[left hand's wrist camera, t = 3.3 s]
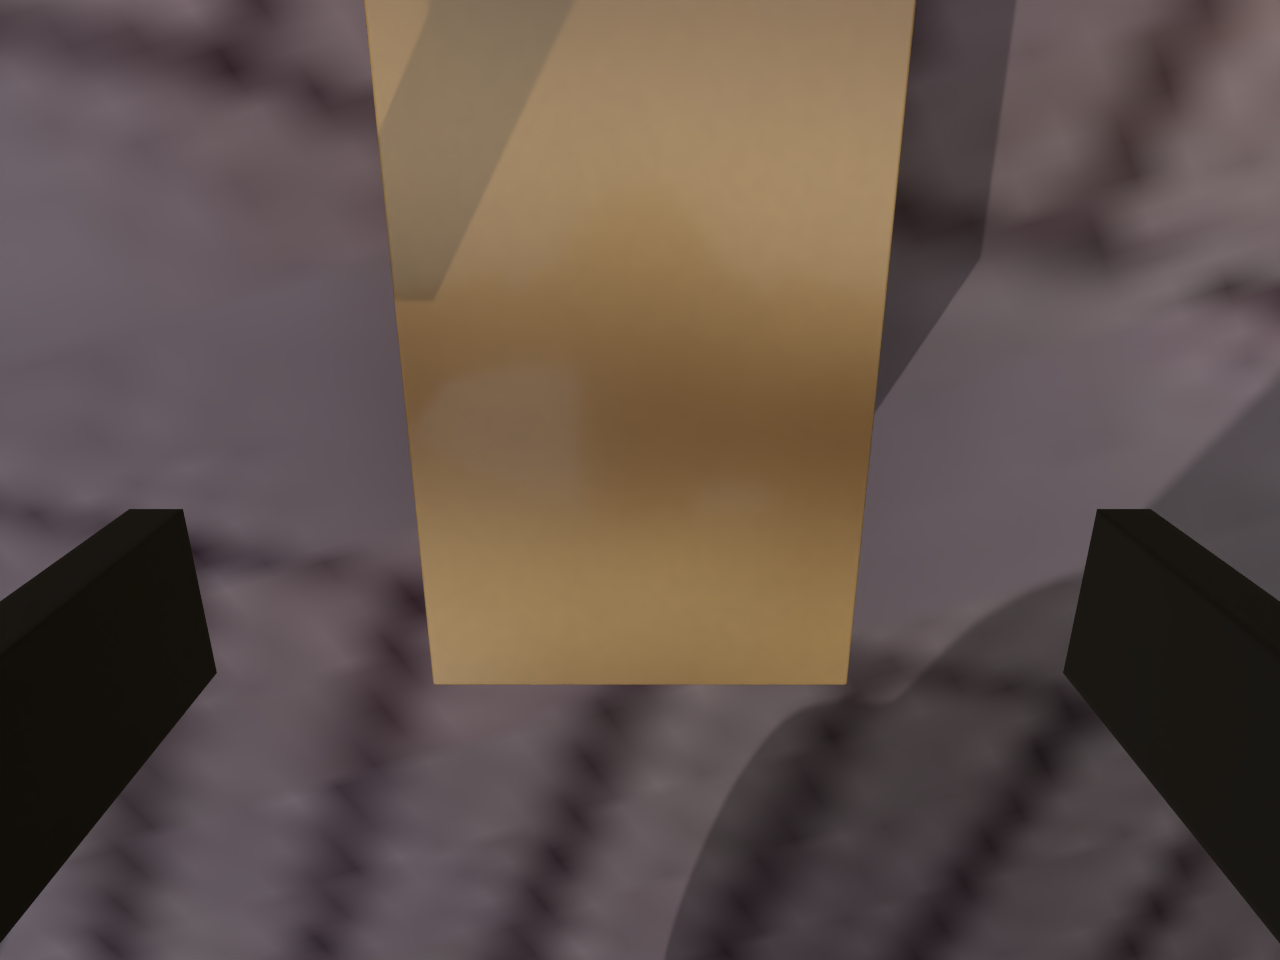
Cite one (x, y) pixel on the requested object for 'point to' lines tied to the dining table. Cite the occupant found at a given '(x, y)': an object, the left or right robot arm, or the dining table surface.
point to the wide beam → (640, 325)
